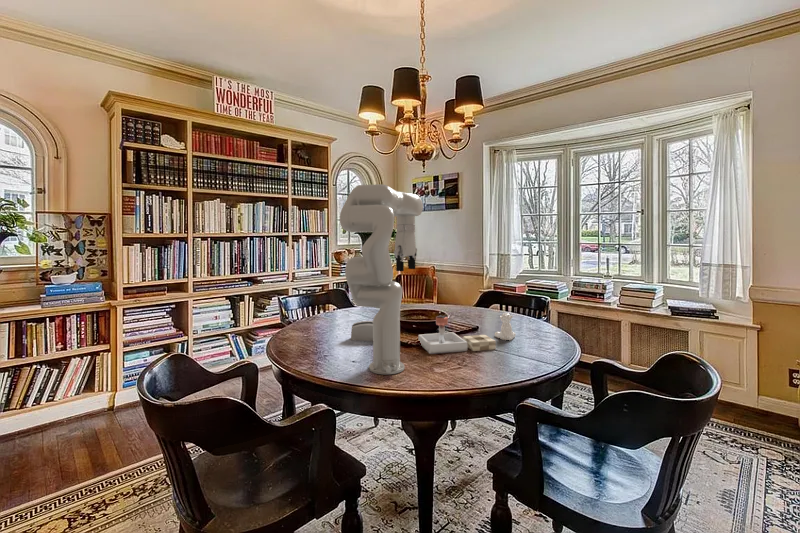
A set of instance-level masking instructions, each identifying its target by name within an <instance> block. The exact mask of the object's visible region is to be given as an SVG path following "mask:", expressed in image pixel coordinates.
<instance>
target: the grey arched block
mask: <svg viewBox="0 0 800 533" xmlns="http://www.w3.org/2000/svg"><path fill="white" fill-rule="evenodd" d="M350 341H360V342H361V341H363V342H365V341H368V342H369V341H370V342H373V320H362V321H357V322H354V323H353V324H352V325H351V333H350Z"/></svg>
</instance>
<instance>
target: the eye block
mask: <svg viewBox="0 0 800 533" xmlns="http://www.w3.org/2000/svg"><path fill="white" fill-rule="evenodd" d="M462 339H464V340H465V341H467V349H469V350H471V351H472V352H476V351H477V352H478V351H479V352H481V351H488V350H489V351H490V350H491V351H492V350H496V349H497V348H496V344H497V340H495V339H493V338H491V337H490V336H488V335H486V334H477V335H464V336H463V338H462Z"/></svg>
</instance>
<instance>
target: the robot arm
mask: <svg viewBox="0 0 800 533" xmlns="http://www.w3.org/2000/svg"><path fill="white" fill-rule="evenodd" d="M423 210H424V204H423V200H422V199H421V197H420V196H419V195H417V194H415V193H411V192H405V191H400V190H395V189H393V188H392V187H390V186H388V185H386V184H381V183H380V184H378V183H377V184H360V185H357V186H355V187H354V188H353V189H352V190H351V191H350V192H349V194H348V196H347V199H346V200H345V202H344V204H343V206H342V208H341V210H340V214H339V223H340V224H339V225H340V227H341V228H342V230H344V231H345V232H348V233H371V235H370V236H369V237H368V238H367V239H366V240H365V242H364V244H363V245H362V247H361V256H353V257H351V258H349V259H348V260H347V262H346V264H345V270H344V271H345V272H344V275H345V280H346V283H347V285H348V289H349V293H350V294H351V298H352V300H353V302H354V304H355V305H356V306H359V307H363V308H365V307H366V308H377V309H379V310H378V312H377V313H376V314H375V315H374V317H373V319H372V321H373V341H372V349H373V350H372V358H373V360H372V362H371V363H370V364H369V365H368V370H369V371H370V372H371V373H373V374H376V375H377V374H378V375H383V376H384V375H387V376H388V375H395V374H399V373H401V372H403V371H404V370H405V364H404V363H403V362H402V361H401V322H400V321H401V307H402V299H403V287H402V285H401V284H400V283H399V282H397V281H394V280H393V278H394V269H393V264H392V260H391V255H390V250H389V244H390V241H391V239H392V234H393V231H394V226H395V217H396V233H395V239H394V241H395V242H394V251H393V254H394V259H395V265H396V266H395V267H396V269H395V270H396V272H404V268H405V267H404V265H405V264H404V263H405V262H404V259H405V257H408V260H407V261H408V262H407V265H408V266H407V269H409V270H416V259H417V253H418V248H417V247H416V236H415V235H416V234H415V232H416V217H419V216H420V215H421V214H422V213H423Z"/></svg>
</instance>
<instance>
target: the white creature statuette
mask: <svg viewBox="0 0 800 533" xmlns="http://www.w3.org/2000/svg"><path fill="white" fill-rule="evenodd" d="M513 317H514V316H513V315H511V314H510V313H508V312H503V313H502V315H500V316H499V319H500V321H501V322H502V324H501V326H500V331H496V332H494V337H495V338H498V339H499V338H500V339H499V340H502V341H506V340H509V341H512V340H513V339H514V338H515V337H516V332H514V331H513V327H512V324H511V320H512V319H513Z"/></svg>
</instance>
